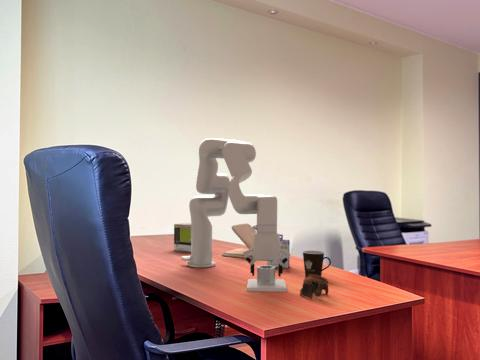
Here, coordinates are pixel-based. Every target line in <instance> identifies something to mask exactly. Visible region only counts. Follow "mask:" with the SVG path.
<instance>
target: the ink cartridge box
mask: <svg viewBox="0 0 480 360" xmlns="http://www.w3.org/2000/svg"><path fill="white" fill-rule="evenodd" d="M279 236H280V248H281V249H283V250H285V251H287V252H289V253H290V251H291V250H290V248H291V247H290V243H291V242H290V239H284V238H283V237H284V235H283V234H280V233H279ZM290 254H291V253H290ZM285 256H286V255H285V254H283V253H281V256H280V259H281V260H283V259H284V258H285ZM290 256H291V255H290ZM290 256H289V258H288V260H287V261H286V262H285V263H284V264H283V266H282V269H283V268H284V269H288V268H289V267H290ZM266 265H270V266H275V268H278V265H279V263H278V261H266Z"/></svg>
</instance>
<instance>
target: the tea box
mask: <svg viewBox="0 0 480 360" xmlns="http://www.w3.org/2000/svg"><path fill="white" fill-rule="evenodd" d="M173 250H174V251H178V252H189V253H191V222H182V223H174V224H173Z"/></svg>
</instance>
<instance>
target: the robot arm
mask: <svg viewBox="0 0 480 360" xmlns="http://www.w3.org/2000/svg"><path fill="white" fill-rule="evenodd" d="M256 154H257V152H256V148H255V146H254V145H253V144H252V143H251V142H246V141H242V140H237V139H230V138H229V139H226V138H225V139H224V138H213V137H211V138H205V139H204V140H202V141H201V142H200V144H199V148H198V160H199V165H198V169H197V170H198V171H197V175H196V176H197V177H196V182H195V183H196V184H195V189H196V191H197V193H198V194H201V195H197V196H194V197H192V198H191V199H190V201H189V205H188V206H189V207H188V208H189V214H190V223H191V252H190V253H191V254H190V255H182V256H181V261H187V266H188V267H190V268H191V267H192V268H197V269H198V268H199V269H201V268H202V269H203V268H212V267H215V266H216V262H215V261H213V225H212V222H211V221H210V219H209V218H210V217H222V216H223V215H224V214H225V213H226V211H227V208H228V202H229V200H230V203H231V205H232V208H233V209H234V211H235V212H236V213H237V214H238V215H256V225H252V227H253V229H254V230H255V231H256V232H255V234H254V240H253V248H251V249H249V248H248V249H249V250H247V251H245V252H243V255H244V257H245V258H244V259H245V261H246V262H248V264H249V265H250V272H249V273H250V274H251V276H252V277H255V262H257V261H259V262H260V261H264V262H267V261H278V263H279V265H278V267H277V270H278V272H277V273H278V274H277V276H278V277H281V274H282V275H283V268H282V266H283V264H284V263H285V262H286V261H287V260H288V258H289V256H291V253H289V252H287V251H285V250H283V249H281V248H280V238H281V236H279V234H280V233H279V232H278V198H277V197H276V196H274V195H266V194H259V193H258V194H257V193H256V194H255V193H254V194H253V193H251V194H249V193H248V194H247V193H243V192H242V189H241V188H240V183H243V182H245V181H246V180H248V179H249V178H250V177H251V176H252V174H253V170H252V168H251V165H250V163H253V162H254V160H255V159H256V157H257V155H256ZM217 159H222V160H223V159H224V162H225V164H226V167H227V169H228V172H229V173H230V177H231V180H230V177H229V176H228V175H227V174H226V173H220V172H219V173H218V170H219V162H218V160H217ZM251 252H253V258H252V259H250V258H249V257H248V254H249V253H251ZM281 253H283V254H285V255H286V256H285V258H284V259H283V260H281V259H280V256H281Z"/></svg>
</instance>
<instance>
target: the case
mask: <svg viewBox="0 0 480 360" xmlns="http://www.w3.org/2000/svg"><path fill="white" fill-rule="evenodd" d="M231 230H232V231H233V233H234V234H235V235H236V236H237V237H238V238H239V239H240V241H241V242H242V243H243V244H244V245H245V246H246V247H247V248H240V247H239V248H238V247H237V248H235V249H232V250H231V249H230V250H227V251H224V252H223V253H222V254H221V256H222V257H228V258H236V259H237V258H238V259H245V257H244V255H243V252H245V251H247V250H249V249H251V248H253V240H254V234H255V232H257V230H255V229H253V225H251V224H249V223H240V224H239V223H238V224H234V225H231ZM248 257H249V258H250V259H251V260H252V258H253V252H251V253H249V254H248Z"/></svg>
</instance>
